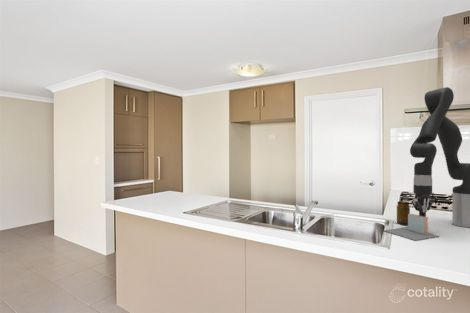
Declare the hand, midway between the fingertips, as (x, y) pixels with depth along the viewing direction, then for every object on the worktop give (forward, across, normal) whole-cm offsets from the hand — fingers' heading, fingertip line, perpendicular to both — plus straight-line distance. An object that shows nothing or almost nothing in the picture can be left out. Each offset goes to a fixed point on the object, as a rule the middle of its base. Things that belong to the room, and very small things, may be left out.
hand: (422, 219), depth 130 cm
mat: (+6, +8, 0) cm, 11 cm away
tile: (+6, +4, 0) cm, 7 cm away
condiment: (+6, -6, -14) cm, 17 cm away
